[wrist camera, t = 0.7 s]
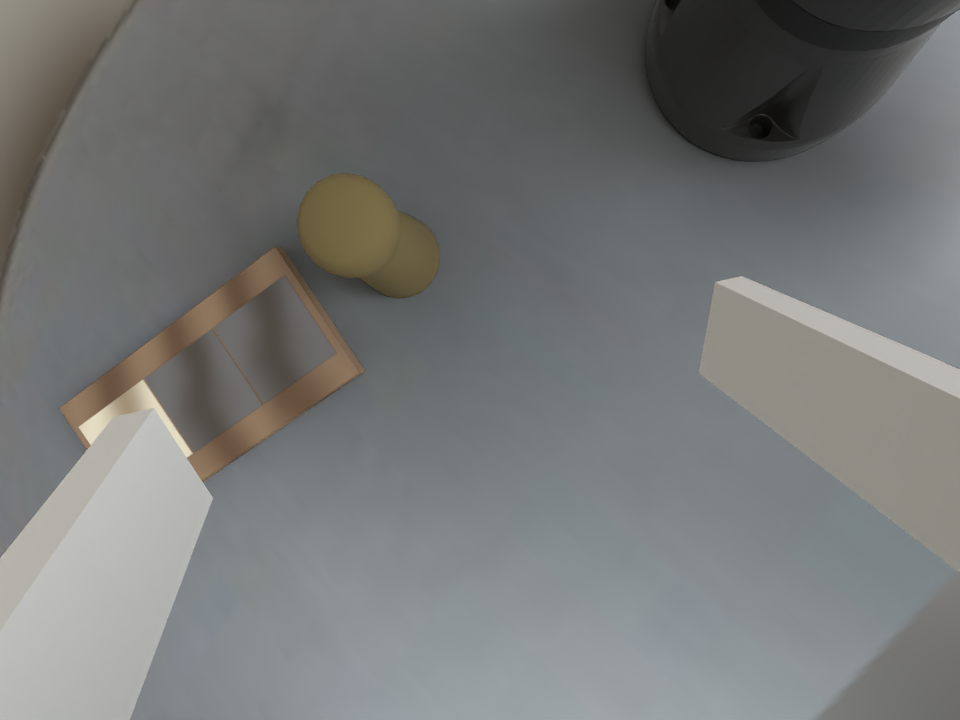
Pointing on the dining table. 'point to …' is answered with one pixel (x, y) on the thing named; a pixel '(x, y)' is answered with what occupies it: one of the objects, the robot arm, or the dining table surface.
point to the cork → (366, 236)
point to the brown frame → (228, 368)
